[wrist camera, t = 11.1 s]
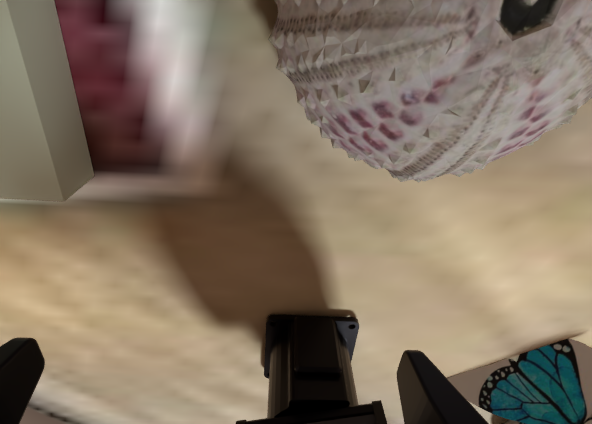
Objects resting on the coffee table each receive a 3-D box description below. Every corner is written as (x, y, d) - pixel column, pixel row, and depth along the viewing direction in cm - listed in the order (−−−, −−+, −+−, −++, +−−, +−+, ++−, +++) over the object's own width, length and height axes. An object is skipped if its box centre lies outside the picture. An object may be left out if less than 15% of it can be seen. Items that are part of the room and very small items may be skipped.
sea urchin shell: (346, 194, 20) (379, 289, 13) (210, -69, 14) (135, -153, 7) (591, 77, 17) (800, 119, 10) (550, -314, 11) (982, -850, 4)
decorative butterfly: (660, 422, 26) (554, 504, 27) (577, 360, 32) (492, 428, 33) (623, 355, 22) (499, 453, 23) (536, 297, 28) (441, 377, 29)
